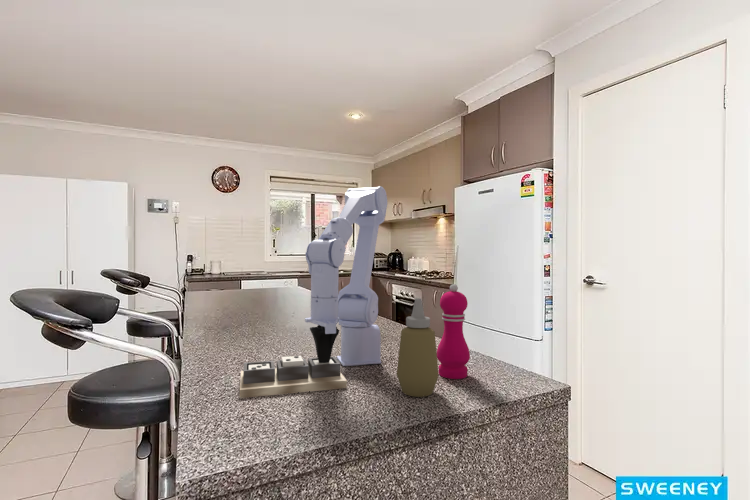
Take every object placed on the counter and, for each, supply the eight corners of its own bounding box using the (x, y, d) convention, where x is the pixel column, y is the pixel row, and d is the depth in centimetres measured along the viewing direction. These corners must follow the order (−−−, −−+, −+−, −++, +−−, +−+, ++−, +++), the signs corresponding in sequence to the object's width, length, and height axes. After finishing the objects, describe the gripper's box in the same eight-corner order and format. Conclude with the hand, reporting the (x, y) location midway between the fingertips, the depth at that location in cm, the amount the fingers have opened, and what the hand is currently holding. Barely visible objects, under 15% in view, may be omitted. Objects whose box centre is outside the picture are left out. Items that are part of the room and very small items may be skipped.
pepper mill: (433, 370, 90) (433, 282, 91) (463, 369, 91) (464, 283, 91) (440, 380, 83) (441, 285, 83) (474, 379, 84) (475, 285, 84)
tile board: (334, 370, 89) (334, 352, 89) (346, 388, 78) (346, 367, 78) (241, 378, 83) (241, 359, 83) (239, 398, 72) (239, 376, 72)
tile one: (331, 368, 85) (331, 358, 85) (335, 373, 81) (335, 363, 81) (312, 369, 84) (312, 359, 84) (315, 375, 80) (315, 364, 80)
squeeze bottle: (410, 403, 70) (412, 302, 71) (388, 389, 78) (389, 297, 78) (447, 395, 74) (448, 300, 74) (422, 383, 81) (423, 295, 81)
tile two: (300, 365, 83) (301, 355, 83) (303, 370, 79) (303, 359, 79) (281, 366, 82) (281, 356, 82) (282, 372, 78) (283, 361, 78)
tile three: (268, 373, 81) (269, 362, 81) (269, 379, 77) (269, 368, 77) (248, 374, 80) (248, 364, 80) (248, 381, 76) (248, 369, 76)
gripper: (301, 293, 88) (300, 354, 88) (310, 301, 75) (309, 373, 74) (332, 292, 90) (331, 352, 90) (346, 300, 77) (346, 370, 77)
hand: (323, 361), depth 83 cm, fingers closed, pressing on tile one
